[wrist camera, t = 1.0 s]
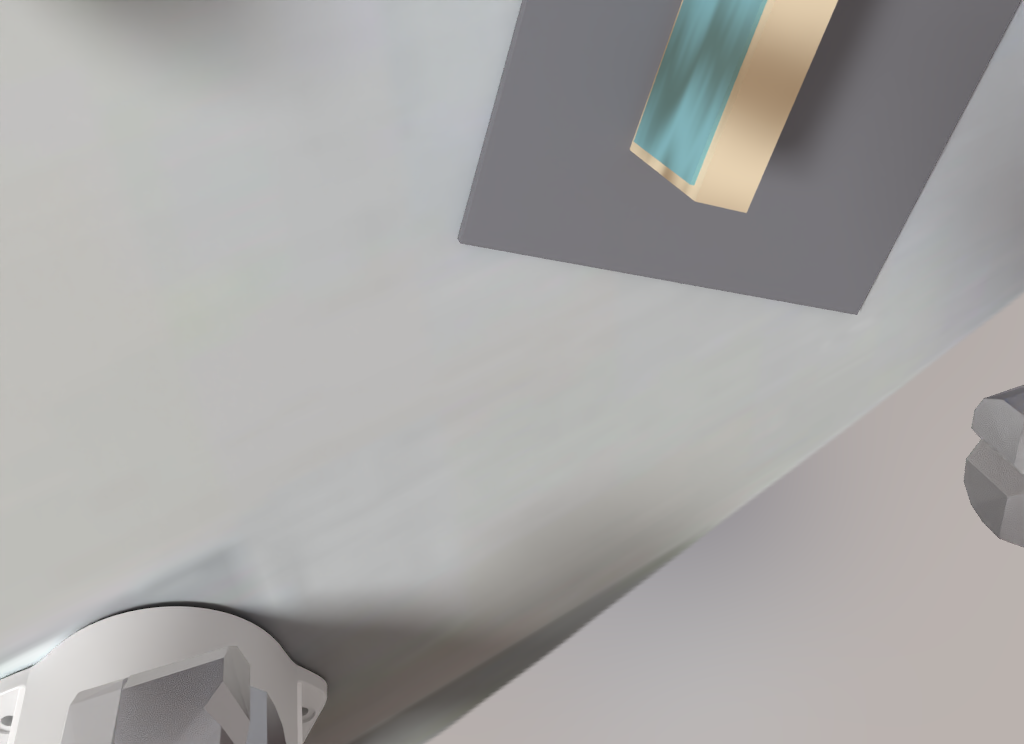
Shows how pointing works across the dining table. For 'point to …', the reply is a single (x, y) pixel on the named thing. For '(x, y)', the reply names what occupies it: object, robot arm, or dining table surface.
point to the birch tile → (727, 93)
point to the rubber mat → (789, 173)
